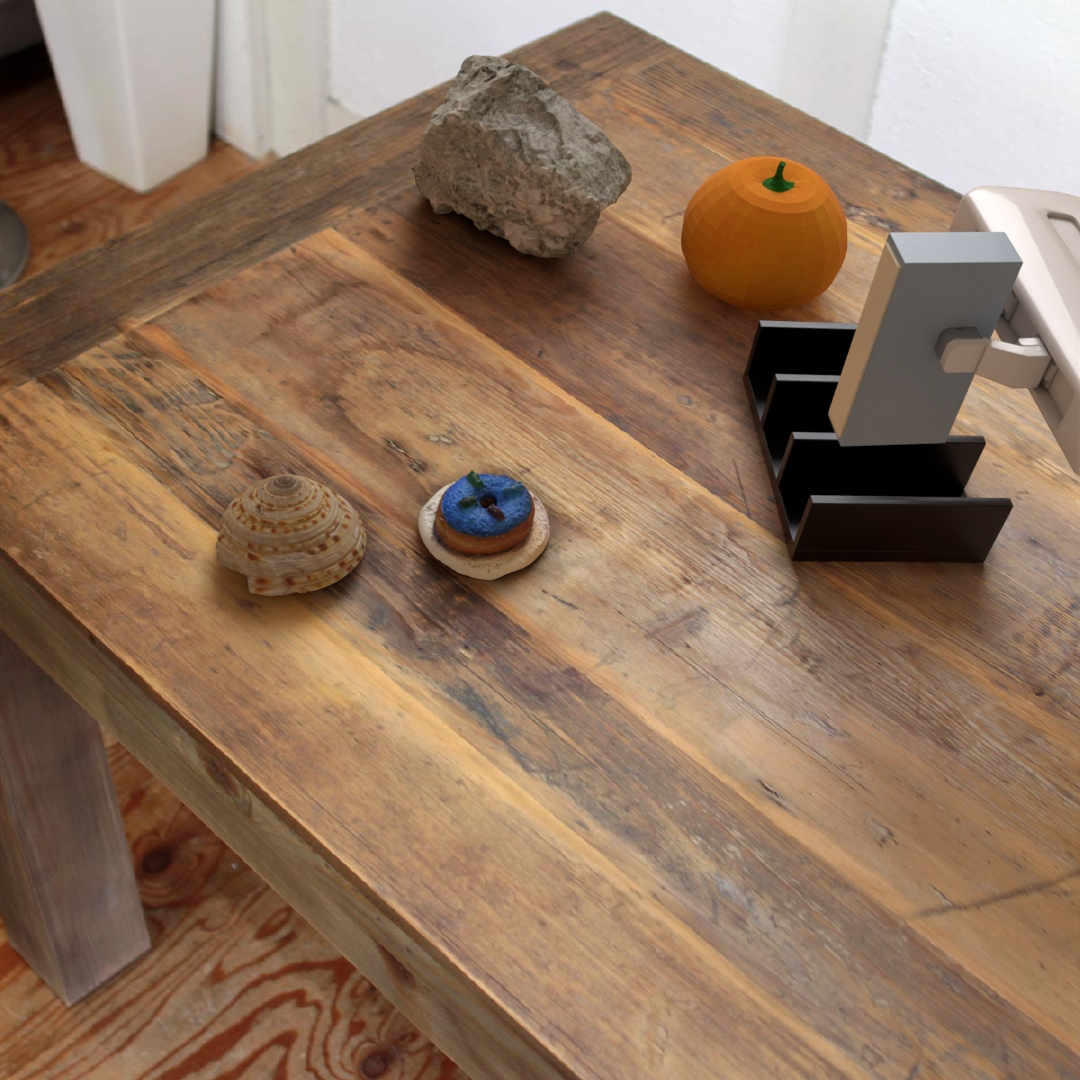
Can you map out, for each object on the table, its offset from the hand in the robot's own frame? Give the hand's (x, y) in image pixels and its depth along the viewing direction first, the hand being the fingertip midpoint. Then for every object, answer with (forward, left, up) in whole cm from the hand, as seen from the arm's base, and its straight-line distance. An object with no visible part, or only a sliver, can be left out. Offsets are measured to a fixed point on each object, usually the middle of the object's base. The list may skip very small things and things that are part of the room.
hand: (928, 325), depth 68 cm
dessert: (-5, +21, -17) cm, 27 cm away
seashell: (-10, +31, -17) cm, 37 cm away
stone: (+26, +27, -17) cm, 41 cm away
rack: (+8, 0, -17) cm, 19 cm away
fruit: (+25, +9, -17) cm, 31 cm away
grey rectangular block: (0, 0, -7) cm, 7 cm away
